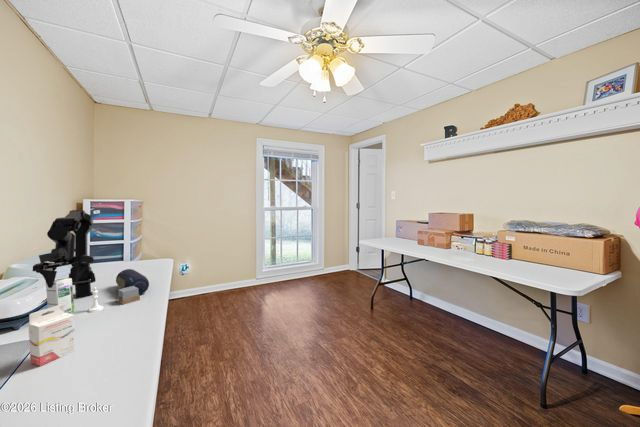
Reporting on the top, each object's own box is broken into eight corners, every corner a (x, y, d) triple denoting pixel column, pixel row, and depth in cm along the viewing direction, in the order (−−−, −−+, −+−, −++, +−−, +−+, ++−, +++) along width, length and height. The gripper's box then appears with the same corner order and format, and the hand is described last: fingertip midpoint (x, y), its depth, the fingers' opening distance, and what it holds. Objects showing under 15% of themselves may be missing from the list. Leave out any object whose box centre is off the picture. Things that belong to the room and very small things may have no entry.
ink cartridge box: (40, 367, 73) (36, 316, 72) (30, 363, 75) (26, 314, 74) (76, 350, 81) (73, 304, 81) (67, 347, 83) (64, 302, 82)
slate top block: (118, 295, 120) (118, 289, 120) (133, 291, 125) (133, 285, 125) (123, 298, 117) (123, 292, 117) (138, 294, 122) (138, 288, 122)
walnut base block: (118, 302, 121) (117, 295, 120) (134, 297, 126) (134, 291, 126) (123, 305, 117) (122, 299, 116) (139, 300, 122) (139, 294, 122)
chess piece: (94, 307, 114) (93, 285, 113) (106, 307, 114) (105, 284, 114) (85, 312, 109) (83, 289, 108) (97, 311, 109) (96, 288, 109)
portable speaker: (114, 288, 139) (113, 270, 138) (136, 283, 146) (135, 266, 146) (127, 299, 123) (126, 279, 122) (151, 293, 130) (150, 274, 130)
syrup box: (58, 316, 105) (56, 281, 104) (47, 315, 106) (45, 281, 105) (74, 310, 111) (72, 277, 110) (63, 309, 112) (61, 276, 111)
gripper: (19, 248, 98) (14, 290, 93) (72, 238, 100) (69, 278, 95) (48, 252, 108) (44, 290, 104) (95, 243, 110) (94, 280, 106)
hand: (62, 285), depth 102 cm, fingers open, 9 cm apart
